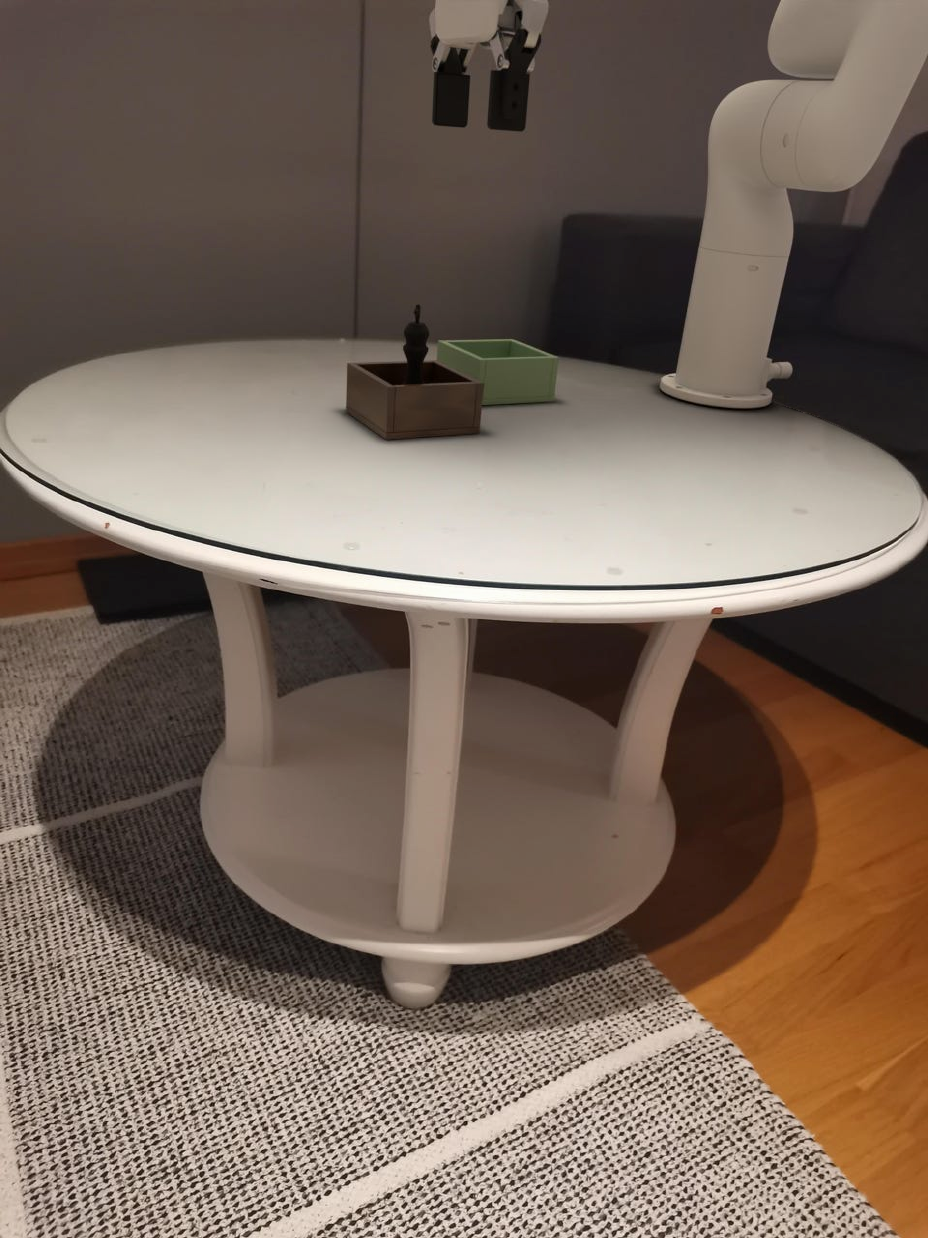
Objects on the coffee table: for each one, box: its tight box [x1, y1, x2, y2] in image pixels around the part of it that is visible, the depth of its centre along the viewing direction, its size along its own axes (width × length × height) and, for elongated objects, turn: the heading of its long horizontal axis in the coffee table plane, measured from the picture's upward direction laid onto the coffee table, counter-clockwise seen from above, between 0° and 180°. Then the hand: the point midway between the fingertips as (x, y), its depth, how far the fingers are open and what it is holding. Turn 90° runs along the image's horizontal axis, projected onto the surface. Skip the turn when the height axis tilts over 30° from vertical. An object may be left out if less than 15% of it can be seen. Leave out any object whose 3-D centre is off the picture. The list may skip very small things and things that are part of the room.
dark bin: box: [345, 359, 484, 441], centre depth 87 cm, size 9×9×5 cm
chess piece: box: [402, 303, 430, 385], centre depth 85 cm, size 4×4×10 cm
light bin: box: [436, 338, 560, 406], centre depth 100 cm, size 9×9×5 cm
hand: (476, 128), depth 78 cm, fingers open, 9 cm apart
